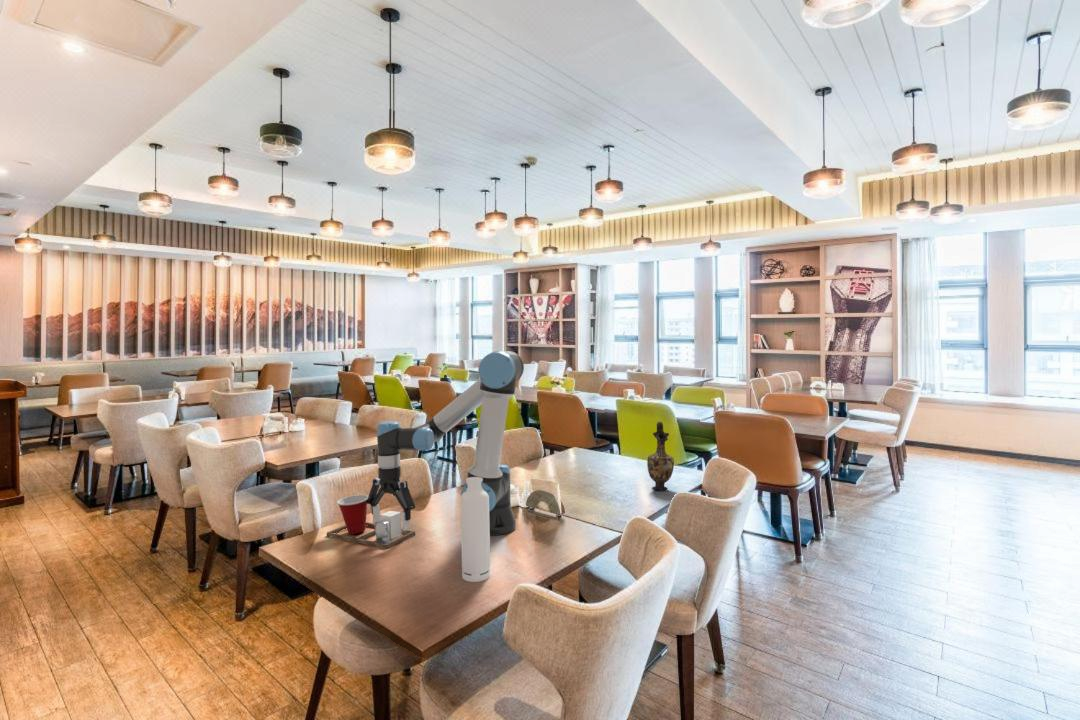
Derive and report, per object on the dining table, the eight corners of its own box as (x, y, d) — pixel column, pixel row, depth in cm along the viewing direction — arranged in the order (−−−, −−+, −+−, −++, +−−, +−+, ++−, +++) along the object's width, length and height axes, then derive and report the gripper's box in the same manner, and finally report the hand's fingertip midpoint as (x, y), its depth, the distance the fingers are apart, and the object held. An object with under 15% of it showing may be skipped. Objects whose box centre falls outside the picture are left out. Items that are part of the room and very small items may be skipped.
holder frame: (415, 534, 185) (415, 531, 185) (386, 548, 172) (386, 545, 172) (357, 523, 198) (357, 520, 198) (326, 535, 185) (326, 532, 185)
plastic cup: (348, 538, 180) (343, 503, 181) (336, 534, 188) (332, 500, 189) (378, 528, 188) (373, 495, 188) (365, 525, 196) (361, 492, 196)
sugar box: (401, 535, 185) (401, 512, 185) (391, 539, 181) (390, 516, 180) (390, 532, 187) (390, 510, 187) (380, 537, 183) (380, 514, 183)
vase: (648, 492, 233) (647, 424, 232) (647, 484, 245) (646, 420, 244) (675, 493, 231) (674, 425, 230) (672, 485, 243) (672, 420, 242)
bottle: (463, 570, 155) (461, 476, 154) (490, 568, 156) (488, 475, 155) (461, 582, 147) (459, 483, 146) (490, 581, 148) (488, 482, 147)
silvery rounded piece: (392, 541, 179) (391, 520, 179) (383, 545, 175) (382, 524, 175) (382, 539, 181) (381, 519, 181) (373, 544, 177) (372, 523, 177)
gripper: (424, 467, 181) (426, 528, 182) (370, 461, 192) (372, 518, 193) (409, 471, 174) (411, 535, 175) (355, 465, 186) (357, 525, 186)
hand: (391, 526), depth 184 cm, fingers open, 13 cm apart
